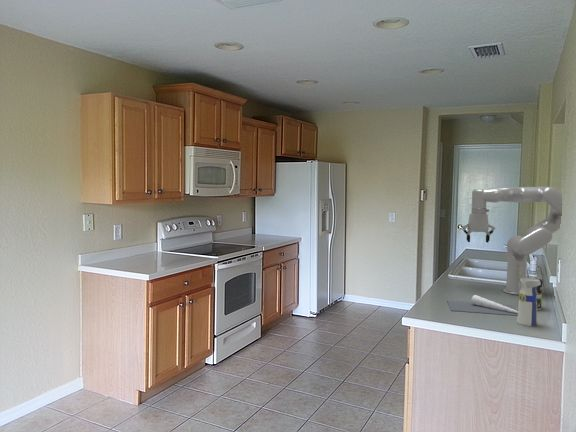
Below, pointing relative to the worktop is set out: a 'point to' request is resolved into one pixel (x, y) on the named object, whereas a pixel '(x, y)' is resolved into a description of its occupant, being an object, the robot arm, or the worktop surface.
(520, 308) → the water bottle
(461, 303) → the mat
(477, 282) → the worktop surface
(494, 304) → the unicorn horn
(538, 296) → the coffee can
